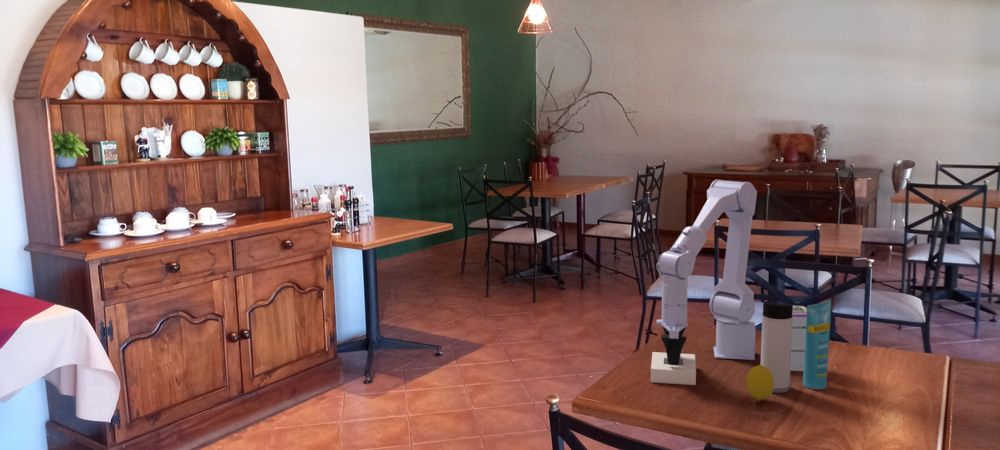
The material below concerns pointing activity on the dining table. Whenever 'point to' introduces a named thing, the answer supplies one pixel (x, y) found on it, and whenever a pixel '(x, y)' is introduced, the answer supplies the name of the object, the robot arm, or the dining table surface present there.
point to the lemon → (759, 382)
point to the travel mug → (777, 343)
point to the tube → (817, 345)
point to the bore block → (673, 369)
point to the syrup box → (798, 338)
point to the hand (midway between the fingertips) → (673, 359)
